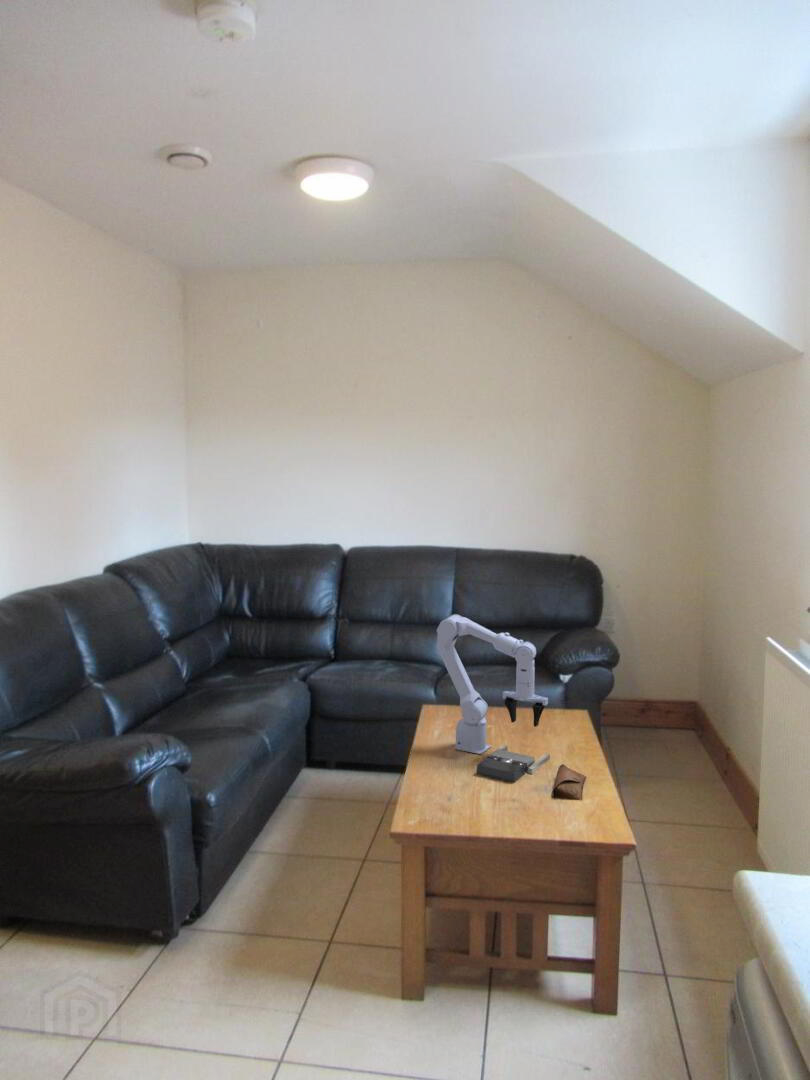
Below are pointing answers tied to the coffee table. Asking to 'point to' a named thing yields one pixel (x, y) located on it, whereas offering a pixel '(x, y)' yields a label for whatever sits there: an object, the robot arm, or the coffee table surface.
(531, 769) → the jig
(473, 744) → the robot arm
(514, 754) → the grey piece
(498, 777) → the fixed leaf
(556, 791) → the sunglasses case
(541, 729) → the coffee table surface
